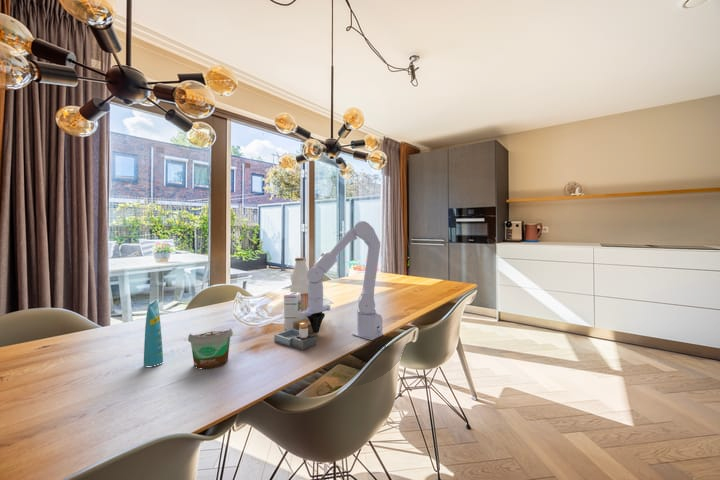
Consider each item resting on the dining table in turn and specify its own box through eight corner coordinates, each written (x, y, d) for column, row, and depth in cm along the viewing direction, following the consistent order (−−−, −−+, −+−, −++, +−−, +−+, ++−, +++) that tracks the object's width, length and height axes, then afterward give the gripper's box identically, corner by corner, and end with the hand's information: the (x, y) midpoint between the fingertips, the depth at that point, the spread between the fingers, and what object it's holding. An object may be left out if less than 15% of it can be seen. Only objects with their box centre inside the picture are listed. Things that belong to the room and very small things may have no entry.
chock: (316, 331, 120) (316, 321, 120) (305, 335, 116) (305, 325, 115) (304, 328, 125) (304, 318, 124) (293, 332, 120) (293, 322, 120)
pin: (309, 345, 105) (309, 322, 105) (303, 348, 103) (303, 325, 103) (304, 343, 107) (303, 321, 107) (297, 345, 105) (297, 323, 104)
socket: (315, 345, 106) (315, 336, 105) (303, 350, 101) (302, 341, 101) (304, 341, 109) (304, 333, 109) (291, 346, 104) (291, 337, 104)
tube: (161, 367, 88) (159, 303, 87) (141, 371, 86) (139, 304, 85) (164, 358, 95) (163, 298, 94) (146, 360, 93) (145, 299, 92)
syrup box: (298, 330, 122) (297, 294, 121) (283, 329, 122) (283, 294, 121) (301, 325, 127) (301, 292, 127) (287, 325, 128) (287, 291, 127)
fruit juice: (295, 321, 133) (294, 259, 132) (287, 316, 140) (287, 257, 140) (314, 318, 138) (314, 258, 137) (306, 313, 146) (305, 256, 145)
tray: (307, 339, 111) (307, 333, 111) (289, 346, 104) (289, 339, 104) (292, 334, 116) (292, 328, 116) (274, 341, 109) (274, 334, 109)
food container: (187, 374, 84) (186, 339, 83) (188, 366, 89) (187, 333, 89) (234, 365, 89) (234, 332, 89) (233, 358, 95) (232, 326, 94)
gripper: (321, 293, 124) (321, 325, 124) (294, 299, 112) (294, 335, 113) (334, 295, 120) (334, 328, 120) (307, 302, 108) (307, 339, 109)
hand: (315, 332), depth 116 cm, fingers closed
